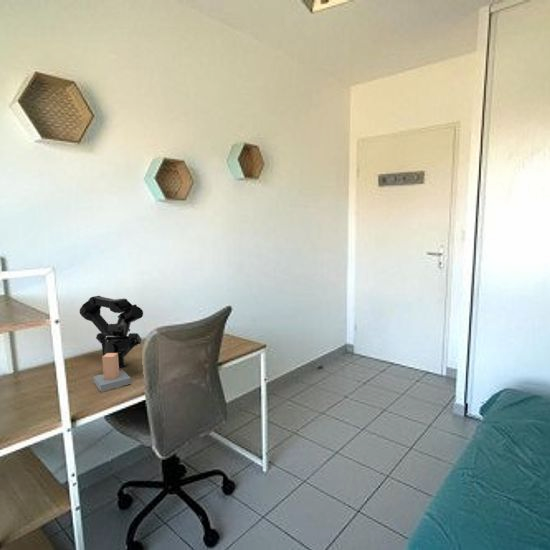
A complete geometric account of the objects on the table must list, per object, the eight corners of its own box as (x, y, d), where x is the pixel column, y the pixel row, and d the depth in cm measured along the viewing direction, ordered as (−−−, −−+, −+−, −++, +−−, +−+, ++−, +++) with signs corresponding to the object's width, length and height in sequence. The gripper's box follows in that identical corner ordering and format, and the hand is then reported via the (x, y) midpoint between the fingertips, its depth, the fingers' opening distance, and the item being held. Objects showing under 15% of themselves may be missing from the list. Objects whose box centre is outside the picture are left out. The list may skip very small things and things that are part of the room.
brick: (103, 379, 163) (102, 356, 162) (109, 375, 168) (107, 352, 166) (114, 379, 163) (112, 356, 162) (119, 375, 168) (117, 353, 166)
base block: (94, 382, 167) (93, 376, 167) (122, 375, 174) (122, 369, 174) (101, 392, 158) (100, 385, 157) (131, 384, 165) (130, 377, 164)
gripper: (96, 315, 172) (84, 347, 162) (137, 315, 170) (127, 348, 161) (106, 327, 181) (96, 358, 171) (145, 328, 179) (136, 359, 170)
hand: (113, 356), depth 168 cm, fingers open, 9 cm apart
